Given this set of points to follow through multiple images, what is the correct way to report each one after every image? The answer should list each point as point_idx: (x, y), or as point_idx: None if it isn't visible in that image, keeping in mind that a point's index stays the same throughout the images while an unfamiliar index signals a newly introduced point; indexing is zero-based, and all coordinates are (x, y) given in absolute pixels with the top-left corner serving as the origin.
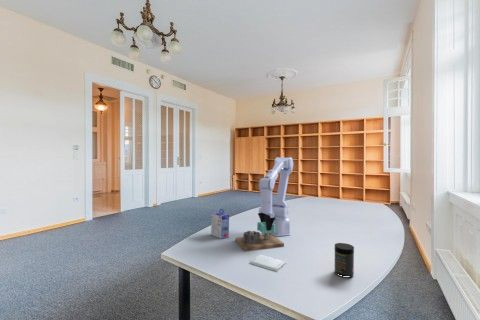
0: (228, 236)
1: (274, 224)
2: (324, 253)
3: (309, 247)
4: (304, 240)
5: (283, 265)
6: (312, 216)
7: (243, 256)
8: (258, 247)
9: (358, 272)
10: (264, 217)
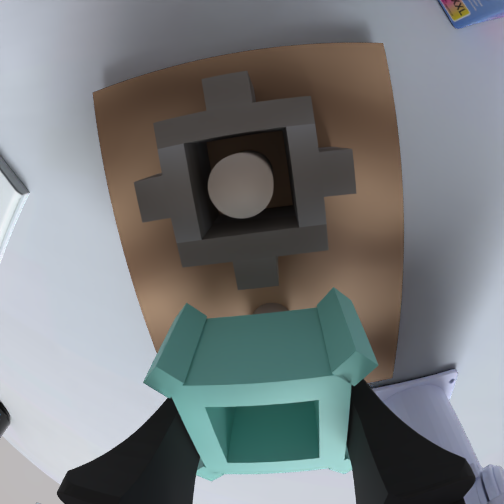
0: (456, 23)
1: (212, 478)
2: None
3: None
4: (261, 475)
5: None
6: None
7: (39, 85)
8: (117, 207)
9: (13, 432)
10: (88, 491)
